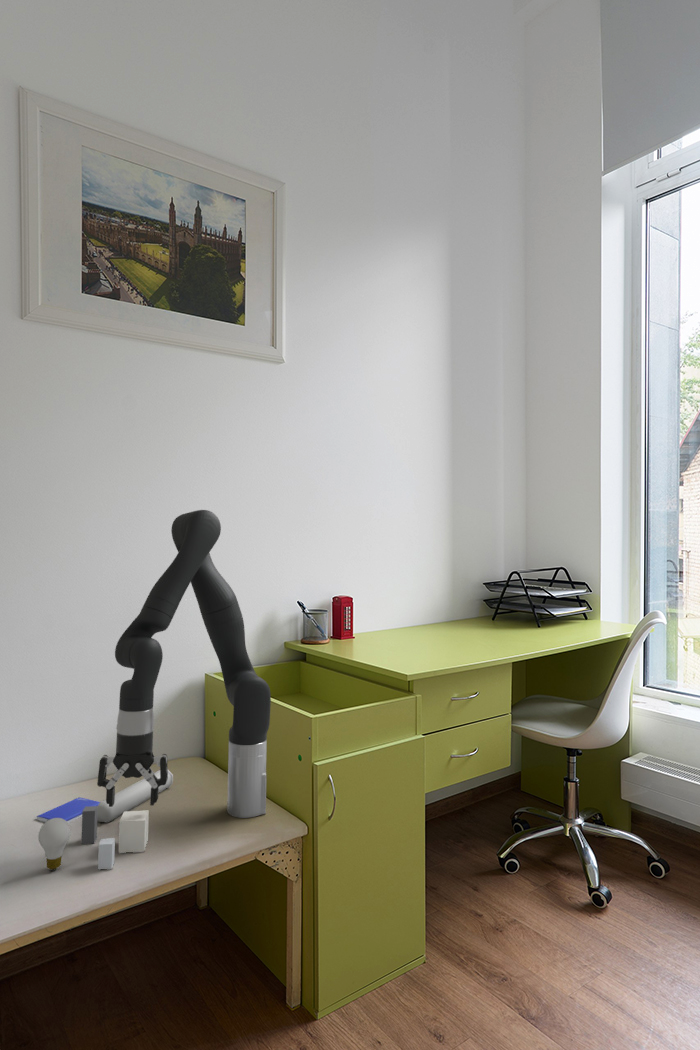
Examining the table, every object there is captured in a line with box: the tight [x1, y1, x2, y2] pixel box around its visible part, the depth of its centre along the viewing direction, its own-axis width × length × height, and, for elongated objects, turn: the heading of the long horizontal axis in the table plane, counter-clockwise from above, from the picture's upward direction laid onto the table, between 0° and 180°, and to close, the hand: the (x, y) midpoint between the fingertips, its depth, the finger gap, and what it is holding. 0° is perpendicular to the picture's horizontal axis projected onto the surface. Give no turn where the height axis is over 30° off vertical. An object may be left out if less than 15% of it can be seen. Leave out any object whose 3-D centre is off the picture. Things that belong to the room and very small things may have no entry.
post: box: [81, 806, 98, 845], centre depth 142 cm, size 3×3×7 cm
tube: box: [97, 769, 174, 823], centre depth 162 cm, size 5×5×25 cm
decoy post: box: [97, 837, 116, 870], centre depth 131 cm, size 3×3×5 cm
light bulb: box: [37, 818, 72, 871], centre depth 129 cm, size 6×6×10 cm
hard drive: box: [36, 796, 101, 824], centre depth 156 cm, size 2×8×12 cm
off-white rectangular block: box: [118, 809, 150, 854], centre depth 140 cm, size 5×5×7 cm
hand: (132, 804), depth 140 cm, fingers open, 8 cm apart
